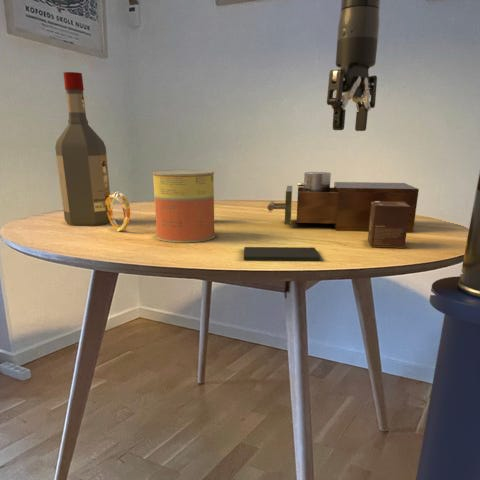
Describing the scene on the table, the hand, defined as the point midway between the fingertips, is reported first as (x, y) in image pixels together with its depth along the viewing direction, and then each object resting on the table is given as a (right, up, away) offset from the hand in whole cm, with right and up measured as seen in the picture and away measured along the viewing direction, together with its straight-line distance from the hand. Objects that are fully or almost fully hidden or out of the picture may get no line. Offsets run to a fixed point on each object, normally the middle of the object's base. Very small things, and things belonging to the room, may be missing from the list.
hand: (349, 130), depth 95 cm
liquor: (-56, -16, +11) cm, 60 cm away
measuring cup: (-6, -15, +9) cm, 18 cm away
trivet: (-16, -28, -18) cm, 37 cm away
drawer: (-7, -16, +9) cm, 20 cm away
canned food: (-33, -22, -4) cm, 40 cm away
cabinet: (+6, -18, +8) cm, 20 cm away
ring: (-47, -20, +1) cm, 51 cm away
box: (+4, -25, -10) cm, 27 cm away
